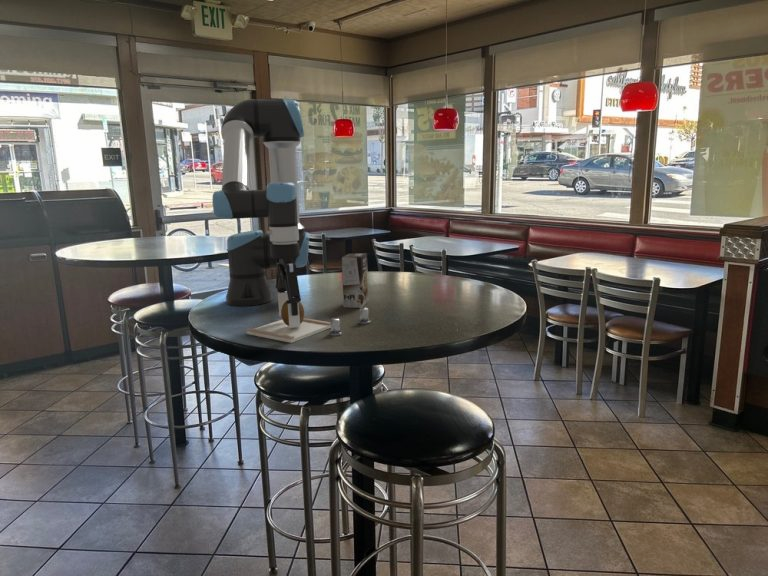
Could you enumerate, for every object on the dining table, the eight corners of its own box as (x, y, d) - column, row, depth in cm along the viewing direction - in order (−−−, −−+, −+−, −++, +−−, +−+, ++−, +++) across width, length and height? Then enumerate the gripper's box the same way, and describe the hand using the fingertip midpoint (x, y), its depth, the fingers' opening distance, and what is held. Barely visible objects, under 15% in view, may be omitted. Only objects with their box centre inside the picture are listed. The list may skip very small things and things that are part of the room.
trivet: (246, 333, 147) (246, 328, 147) (288, 320, 160) (288, 315, 160) (291, 342, 139) (291, 337, 138) (331, 327, 152) (331, 322, 151)
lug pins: (326, 334, 145) (325, 320, 144) (363, 320, 158) (362, 306, 158) (336, 336, 143) (336, 321, 142) (373, 321, 156) (372, 308, 156)
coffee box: (362, 308, 172) (361, 257, 169) (342, 307, 174) (340, 256, 170) (369, 301, 181) (367, 252, 178) (350, 301, 183) (348, 252, 179)
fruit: (307, 324, 153) (305, 295, 151) (302, 330, 146) (300, 301, 145) (285, 324, 153) (283, 296, 151) (279, 330, 147) (277, 301, 145)
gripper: (262, 238, 155) (267, 312, 159) (279, 248, 132) (284, 334, 136) (288, 236, 157) (293, 309, 162) (310, 246, 135) (314, 330, 139)
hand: (289, 321), depth 149 cm, fingers open, 13 cm apart
